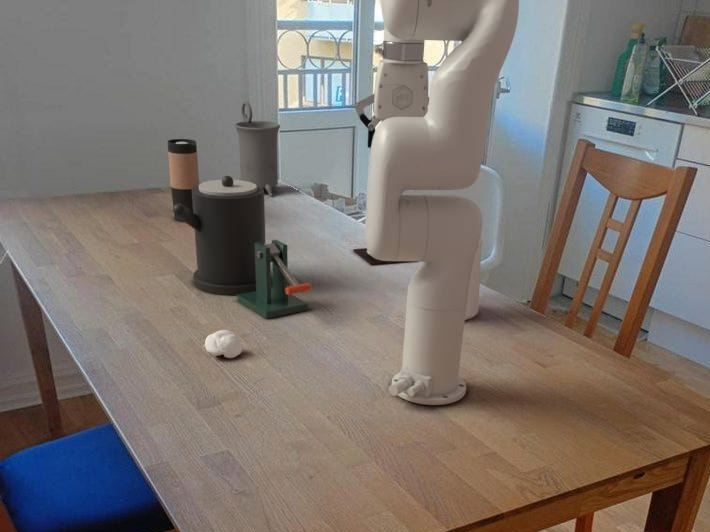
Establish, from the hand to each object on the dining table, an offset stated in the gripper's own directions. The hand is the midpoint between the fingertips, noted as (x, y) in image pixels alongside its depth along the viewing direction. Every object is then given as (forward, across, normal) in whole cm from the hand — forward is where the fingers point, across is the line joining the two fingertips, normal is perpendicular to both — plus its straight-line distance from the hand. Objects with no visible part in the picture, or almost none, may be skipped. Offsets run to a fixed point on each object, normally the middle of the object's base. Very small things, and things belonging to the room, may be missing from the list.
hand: (397, 152), depth 154 cm
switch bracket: (+30, -25, -5) cm, 39 cm away
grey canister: (+31, -31, +98) cm, 107 cm away
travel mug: (+30, -50, +62) cm, 85 cm away
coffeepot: (+30, +12, -8) cm, 33 cm away
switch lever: (+22, -23, -8) cm, 33 cm away
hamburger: (+30, +2, +31) cm, 43 cm away
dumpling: (+30, -33, -30) cm, 54 cm away
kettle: (+30, -37, +10) cm, 48 cm away
